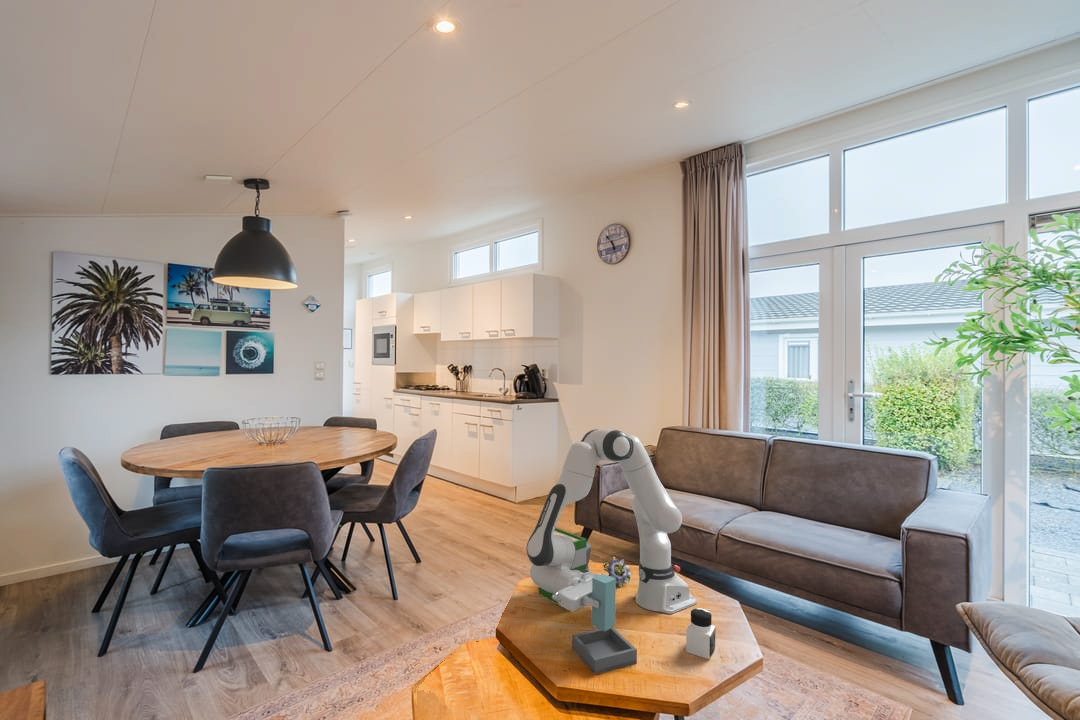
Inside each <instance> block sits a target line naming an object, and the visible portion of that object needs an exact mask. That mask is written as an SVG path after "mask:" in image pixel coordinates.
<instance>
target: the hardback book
mask: <svg viewBox="0 0 1080 720" xmlns="http://www.w3.org/2000/svg"><path fill="white" fill-rule="evenodd" d="M553 535H560V536H566V537H569V538H570V539H571V540H572V541H573V542H574V545H575V548H576V554H575V558H574V562H573V565H572V567H571V570H585V569H586V543H587V538H586V537H582V536H580V535H576V534H574V533H571V532H568V531H566V530H564V529H562V528H561V529H560V528H558V527H557V526H556V527H555V530H554V532H553ZM538 595H539V596H541V595H542V597H543V596H544V597H543V598H545V599H547V600H548V601H551V602H552V601H553V602H552V603H554V602H555V604H556V603H557V604H556V605H557V606H560V607H562V606H561V605H559V604H558V601H555V600H553V599H552V595H553V593H549V592H547V591H545V590H543V589H542V588H540V587H538Z"/></svg>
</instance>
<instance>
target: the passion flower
mask: <svg viewBox="0 0 1080 720" xmlns="http://www.w3.org/2000/svg"><path fill="white" fill-rule="evenodd" d="M624 562H625V559H621V560H619V559H617V558H616V557H615V556H613V557H612V560H611V562H604V564H602V567H603V570H604V571H605V572H607V573H608V574H607V575H608V576H611V577H613V578H616V586H618V588H622V587H623V582H625V583H626V584H629V581H630V580H631V575H632V574H633V571H631V569H630V565H626V564H625V563H624Z"/></svg>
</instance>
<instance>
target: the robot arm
mask: <svg viewBox="0 0 1080 720" xmlns="http://www.w3.org/2000/svg"><path fill="white" fill-rule="evenodd" d="M601 461H609V462H610V461H611V462H618V464H619V466H620V469H621V471H622V473H623V475H624V478H625V480H626V482H627V485H628V488H629V489H630V491H631V493H633V495H634V497H633V498H632V501H631V508H632V510H633V512H634V516H635V519H636V524H637V525H636V526H637V531H638V536H639V537H638V538H639V548H640V549H639V556H640V557H639V561H638V578H639V582H638V585H637V586H638V587H637V592H636V596H635V602H636V604H637V605H638V606H639V607H642V608H643V609H646V610H648V611H653V612H660V613H664V614H669V615H672V614H675V613H677V612H679V611H682V610H685V609H688V608H690V607H692V606H694V605H697V599H696V598H695V597H694V596H693V594H691V593H690V588H689V585H688V583H687V582H686V581H685V580H684V579H682V578H681V577H680V576H678V574H676V573H675V572H677V573H679V572H681V567H680V566H678V565H677V564H673V563H672V558H671V557H672V545H671V541H670V539H669V536H668V534H672V533H675V532H676V531H678V530H679V529H680V527H682V523H683V515H682V512H681V511H680V509H679V508H678V507H677V506H676V504H675V503H674V501H673V500H672V498H671V497H670V495H669V493H668V492H667V490H666V488H665V487H664V485H663V484H662V483H661V482H662V481H661V480H660V479H659V477H658V474H657V472H656V470H655V468H654V465H653V463H652V460H651V458H650V456H649V454H648V451H647V450H646V448H645V446H644V445H643V443H642V442H641V440H640V439H639V437H637V436H636V435H631V434H630V435H629V434H627V433H625V432H623V431H621V430H618V429H615V430H613V429H609V428H603V429H596V428H595V429H592V430H589V431H588V432H586V433H585V434H584V436H583V437H582V439H581V440H580V441H576V442H574V443H572V445H571V446H570V448H569V450H568V452H567V455H566V457H565V460H564V464H563V466H562V470H561V474H560V476H559V478H558V481H557V483H556V484H555V485H553V487H552V488H551V489H550V491H549V493H548V494H547V498H546V500H545V503H544V505H543V507H542V509H541V511H540V512H541V513H540V515H539V517H538V520H537V523H536V525H535V527H534V529H533V531H532V533H531V534H530V536H529V539H528V541H527V543H526V549H525V550H526V554H527V558H528V560H529V561H530V562H531V566H530V570H529V575H530V579H531V581H532V582H533V583H534V585H536V586H537V587H538V588H539V587H540V588H542V589H543V590H545V591H547V592H549V593H553V595H552V599H553V600H555V601H558V604H559V605H558V604H557V605H558V606H560V605H561V606H560V607H561V608H563V607H564V609H565V610H567V611H569V612H571V611H572V612H575V611H577V610H580V609H581V608H582V607H583V608H584V607H585V606H586V607H592V606H594V607H596V608H598V607H600V606H601V601H600V600H598V599H595V600H594V599H592V578H594V577H596V576H598V575H600V574H599V573H596V572H593V571H592V570H591V569H585V570H571V567H572V565H573V562H574V558H575V554H576V548H575V545H574V542H573V541H572V540H571V539H570V538H569V537H566V536H560V535H553V532H554V530H555V527H556V528H557V523H558V521H559V518H560V516H561V513H562V511H563V510H564V509H565V508H566V507H567V506H568V505H570V504H572V503H574V502H575V503H576V502H578V501H581V500H583V499H585V497H587V496H588V495H589V492H590V490H591V488H592V486H593V481H594V477H595V472H596V467H597V466H598V464H599V463H600V462H601Z"/></svg>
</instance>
